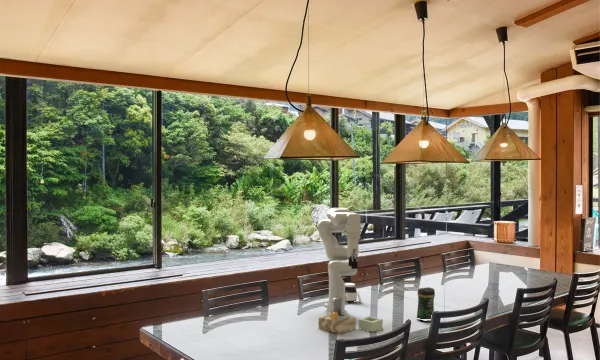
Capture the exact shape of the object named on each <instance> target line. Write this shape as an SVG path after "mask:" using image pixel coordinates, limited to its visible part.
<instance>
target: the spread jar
mask: <svg viewBox="0 0 600 360" xmlns="http://www.w3.org/2000/svg"><path fill="white" fill-rule="evenodd" d="M357 299H358V302H359V303H362V302H361V301H362V299H361V295H360V293H359V291H358V290H357V288H356V283H353V282H345V301H346V302H354V301H355V302H357ZM346 302H345V303H346ZM355 302H354V303H355Z"/></svg>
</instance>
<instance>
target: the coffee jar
mask: <svg viewBox="0 0 600 360" xmlns="http://www.w3.org/2000/svg"><path fill="white" fill-rule="evenodd" d="M435 297H436V292H435V289H434V288H432V287H429V286H428V287H421V288H418V289H417V300H418V302H417V310H416V311H417V312H416V319H417V318H420V319H431V315H432V312H433V311H434V312H435V307H434V306H435V304H434V303H435V302H434V301H435Z"/></svg>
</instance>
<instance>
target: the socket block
mask: <svg viewBox="0 0 600 360" xmlns="http://www.w3.org/2000/svg"><path fill="white" fill-rule="evenodd" d="M354 328H355V329H356V317H355V316H353V315H350V318H348V319H345V320H341V321H338V322H333V321H331V317H330V316H329V314H327V313H326V314H324V315H320V316H318V329H320V330H323V331H327V332H330V331H331V332H332V333H334V334H337V333H338V335H341V334H344V333H346V332H345V331H347V332H349V331H348V330H350V331H352V330H355V329H354ZM351 329H352V330H351ZM331 332H330V333H331ZM343 332H344V333H343Z"/></svg>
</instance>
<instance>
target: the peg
mask: <svg viewBox="0 0 600 360" xmlns="http://www.w3.org/2000/svg"><path fill="white" fill-rule="evenodd" d="M341 310H342V298H340V297H335V298H333V312H337V313H338V315H339V314H341Z"/></svg>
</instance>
